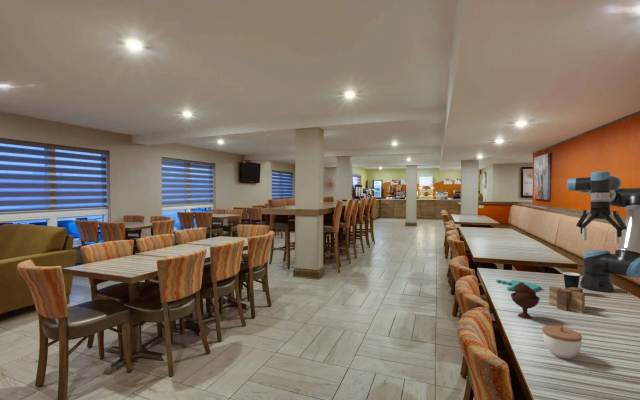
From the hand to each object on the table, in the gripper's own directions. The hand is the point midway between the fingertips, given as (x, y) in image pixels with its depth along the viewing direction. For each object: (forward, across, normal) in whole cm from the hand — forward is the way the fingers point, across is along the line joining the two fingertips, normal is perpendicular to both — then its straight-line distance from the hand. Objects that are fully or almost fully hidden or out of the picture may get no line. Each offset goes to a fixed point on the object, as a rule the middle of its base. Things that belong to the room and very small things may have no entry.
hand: (600, 241), depth 160 cm
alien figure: (+32, -35, -10) cm, 49 cm away
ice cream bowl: (+32, -3, -56) cm, 65 cm away
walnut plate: (+32, -2, -23) cm, 39 cm away
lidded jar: (+32, +24, -79) cm, 89 cm away
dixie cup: (+32, -16, +6) cm, 36 cm away
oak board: (+32, -2, -26) cm, 41 cm away
